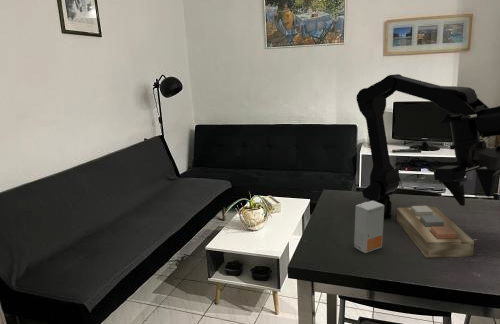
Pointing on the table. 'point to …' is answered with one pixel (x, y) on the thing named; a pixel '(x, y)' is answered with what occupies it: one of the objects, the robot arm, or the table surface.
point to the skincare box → (369, 226)
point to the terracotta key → (443, 232)
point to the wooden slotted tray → (428, 241)
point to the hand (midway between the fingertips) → (475, 200)
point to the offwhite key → (421, 210)
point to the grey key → (431, 221)
